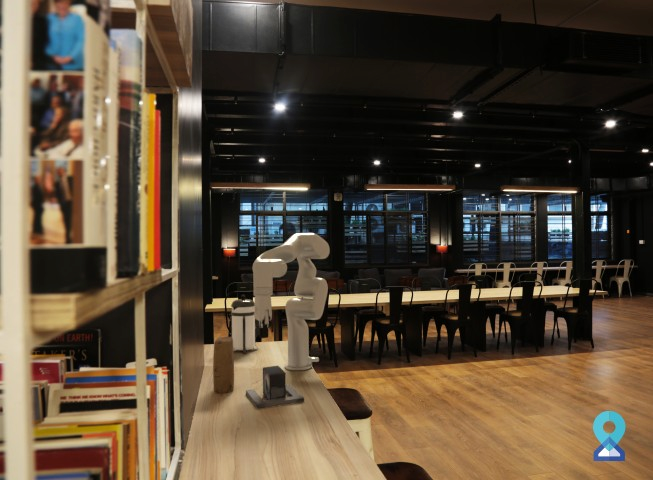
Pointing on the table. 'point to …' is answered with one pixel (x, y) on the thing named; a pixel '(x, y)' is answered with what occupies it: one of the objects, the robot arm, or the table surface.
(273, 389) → the small box
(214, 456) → the table surface
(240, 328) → the coffee press
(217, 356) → the block
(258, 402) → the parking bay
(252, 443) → the table surface
